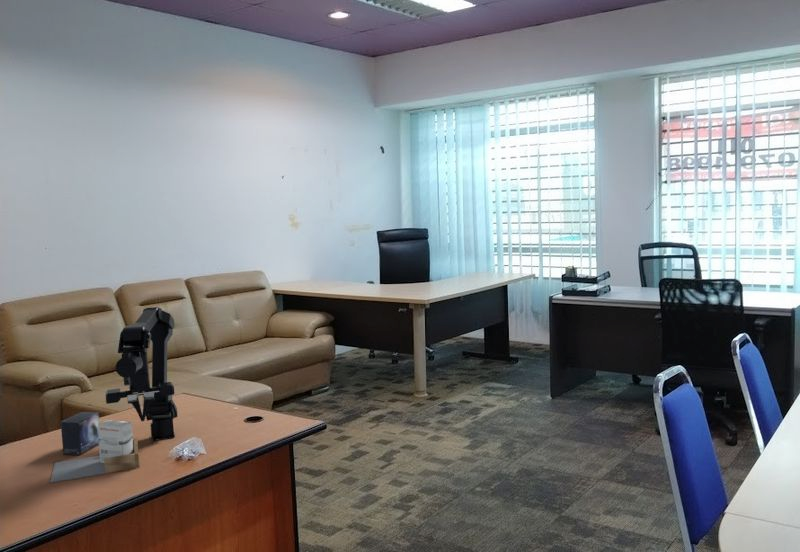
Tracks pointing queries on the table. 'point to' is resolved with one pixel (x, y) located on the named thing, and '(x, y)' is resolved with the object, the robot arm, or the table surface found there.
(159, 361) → the robot arm
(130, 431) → the ink box
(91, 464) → the felt pad
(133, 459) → the corral
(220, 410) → the table surface
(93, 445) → the small box
